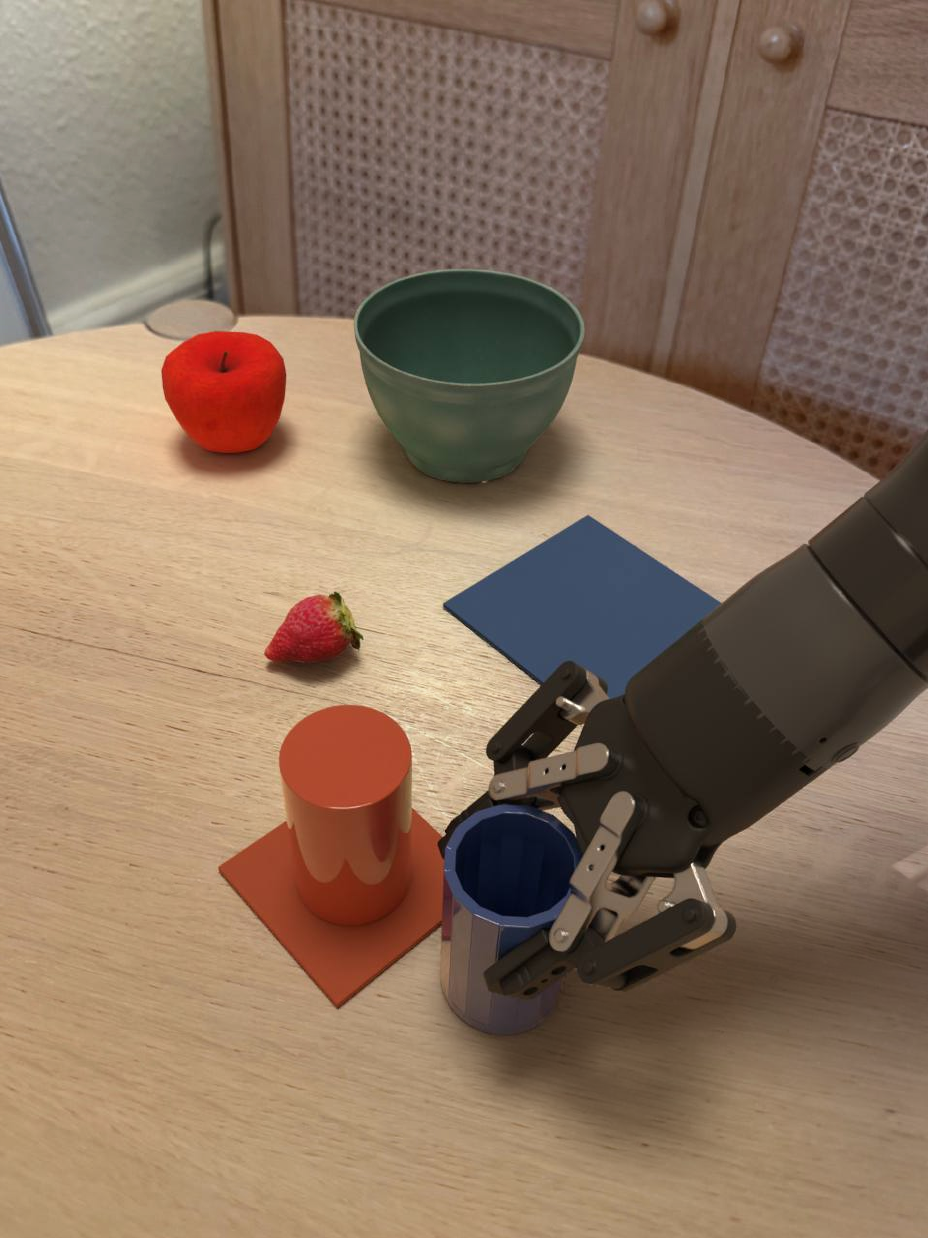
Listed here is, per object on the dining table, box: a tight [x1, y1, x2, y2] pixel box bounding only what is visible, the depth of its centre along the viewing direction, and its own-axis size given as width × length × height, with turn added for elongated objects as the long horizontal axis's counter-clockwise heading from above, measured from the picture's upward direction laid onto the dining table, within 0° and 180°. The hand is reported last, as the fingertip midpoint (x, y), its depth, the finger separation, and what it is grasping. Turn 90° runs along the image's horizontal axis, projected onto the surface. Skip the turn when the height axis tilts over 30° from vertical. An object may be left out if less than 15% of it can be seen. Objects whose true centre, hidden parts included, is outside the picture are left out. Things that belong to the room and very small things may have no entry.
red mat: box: [217, 807, 444, 1009], centre depth 56 cm, size 10×10×1 cm
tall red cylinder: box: [278, 704, 413, 926], centre depth 52 cm, size 6×6×10 cm
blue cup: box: [439, 804, 583, 1036], centre depth 49 cm, size 6×6×10 cm
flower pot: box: [353, 268, 585, 484], centre depth 79 cm, size 16×16×11 cm
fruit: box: [263, 591, 364, 664], centre depth 66 cm, size 4×6×5 cm
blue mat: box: [442, 514, 722, 699], centre depth 71 cm, size 14×14×1 cm
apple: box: [160, 330, 288, 454], centre depth 80 cm, size 9×9×8 cm
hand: (474, 918), depth 48 cm, fingers closed on blue cup, 6 cm apart
